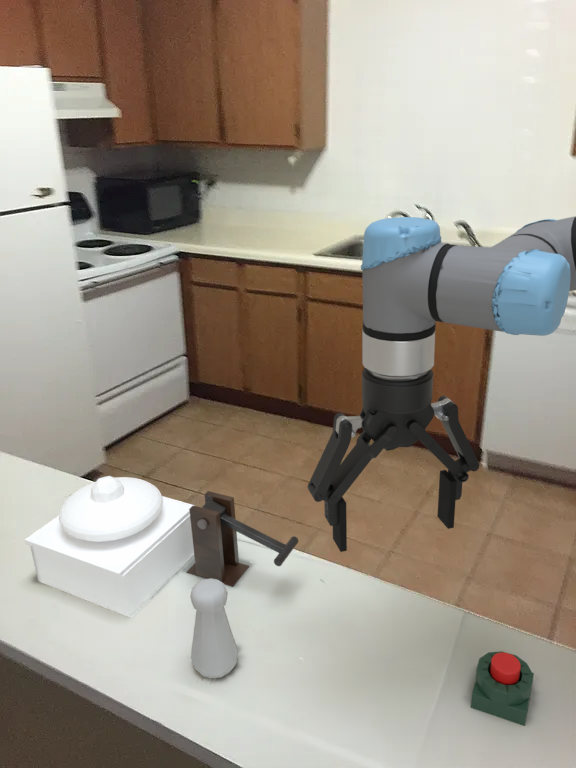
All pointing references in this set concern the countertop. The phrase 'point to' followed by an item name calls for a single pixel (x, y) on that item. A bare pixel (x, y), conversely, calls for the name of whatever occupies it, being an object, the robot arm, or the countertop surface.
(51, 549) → the white lidded container
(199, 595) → the salt shaker
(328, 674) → the countertop surface
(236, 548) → the bracket
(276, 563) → the lever
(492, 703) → the button box
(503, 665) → the button
